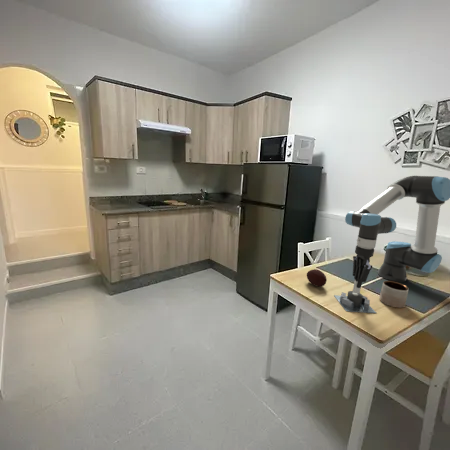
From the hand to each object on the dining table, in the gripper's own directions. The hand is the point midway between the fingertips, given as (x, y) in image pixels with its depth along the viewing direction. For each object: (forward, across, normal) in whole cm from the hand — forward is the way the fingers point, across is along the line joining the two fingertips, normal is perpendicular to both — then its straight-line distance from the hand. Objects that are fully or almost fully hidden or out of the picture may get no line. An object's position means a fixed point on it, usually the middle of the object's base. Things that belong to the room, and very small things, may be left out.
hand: (356, 292), depth 116 cm
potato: (+7, -18, -13) cm, 23 cm away
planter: (+7, -4, +21) cm, 22 cm away
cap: (+6, 0, 0) cm, 6 cm away
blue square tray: (+6, 0, 0) cm, 6 cm away
